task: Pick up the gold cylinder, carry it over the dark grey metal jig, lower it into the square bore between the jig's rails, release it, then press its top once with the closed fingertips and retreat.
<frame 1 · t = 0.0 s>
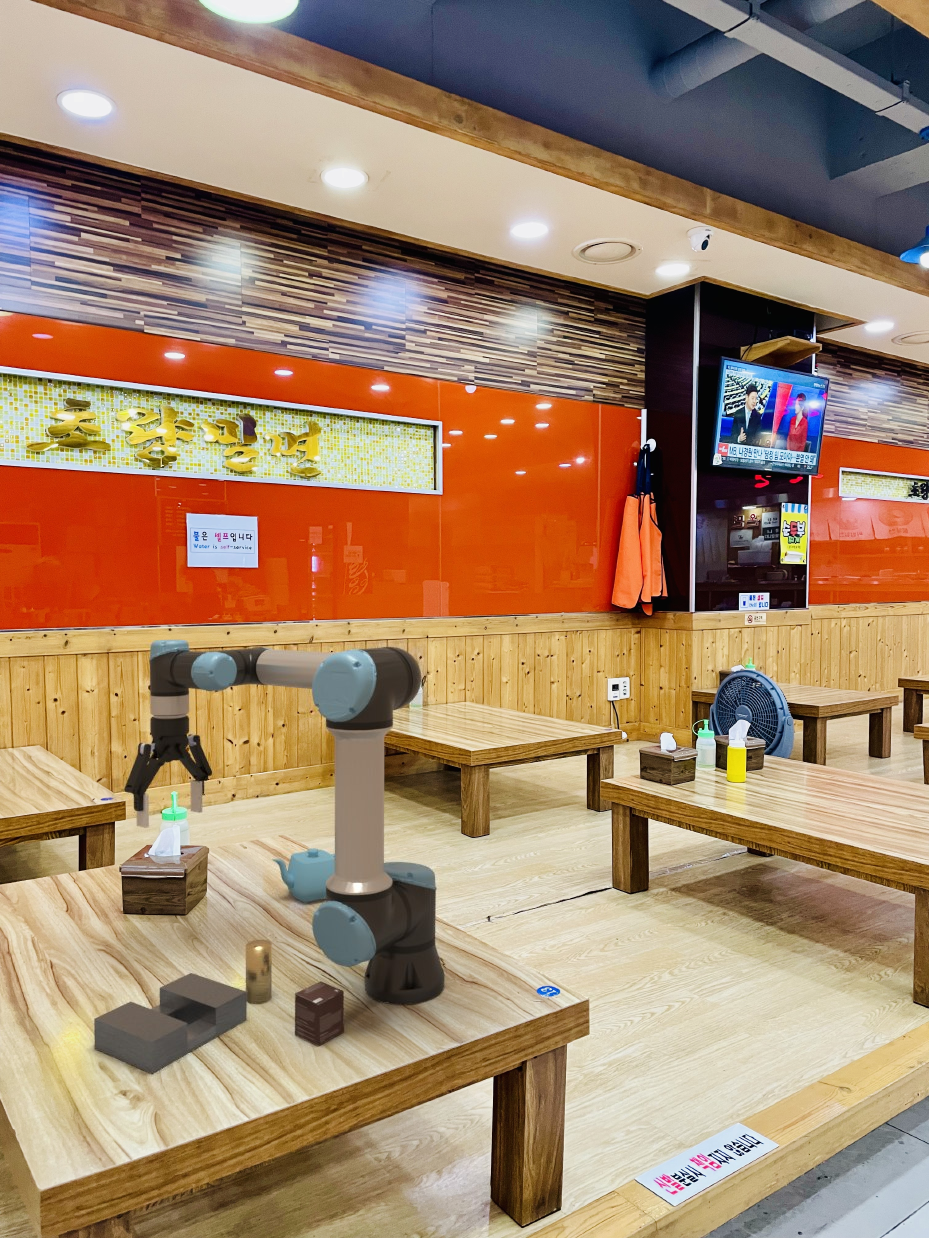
hand: (170, 818, 178), 28 cm above the table, fingers open, 13 cm apart
box: (319, 1035, 147), on the table
jig: (173, 1033, 147), on the table
teapot: (307, 897, 213), on the table
gold cylinder: (258, 998, 160), on the table
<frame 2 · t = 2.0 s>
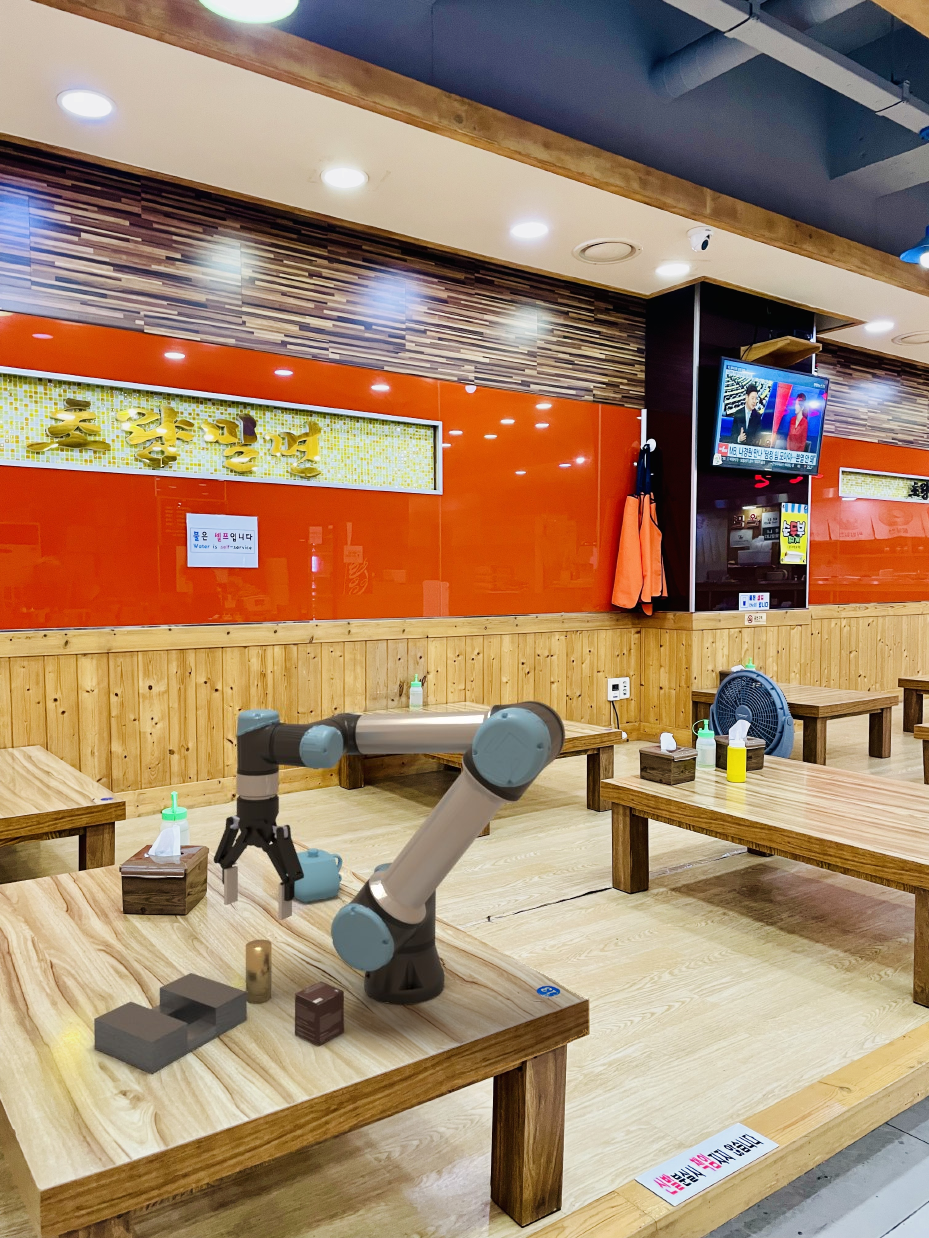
hand: (257, 909, 159), 16 cm above the table, fingers open, 13 cm apart
nothing on the table moved.
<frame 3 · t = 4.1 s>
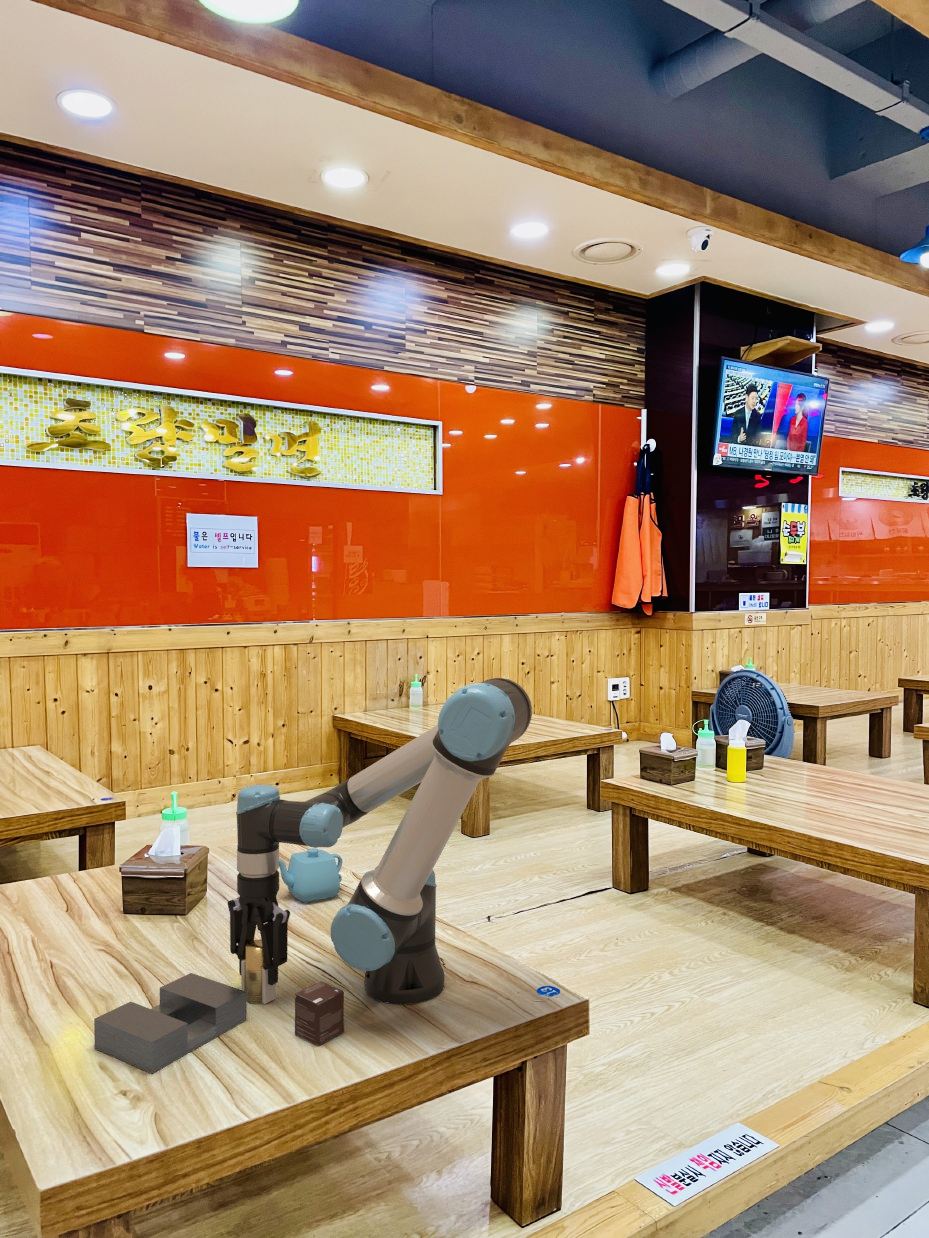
hand: (258, 996, 160), 0 cm above the table, fingers closed on gold cylinder, 5 cm apart
gold cylinder: (258, 997, 160), on the table, touching gripper
everything else where it was.
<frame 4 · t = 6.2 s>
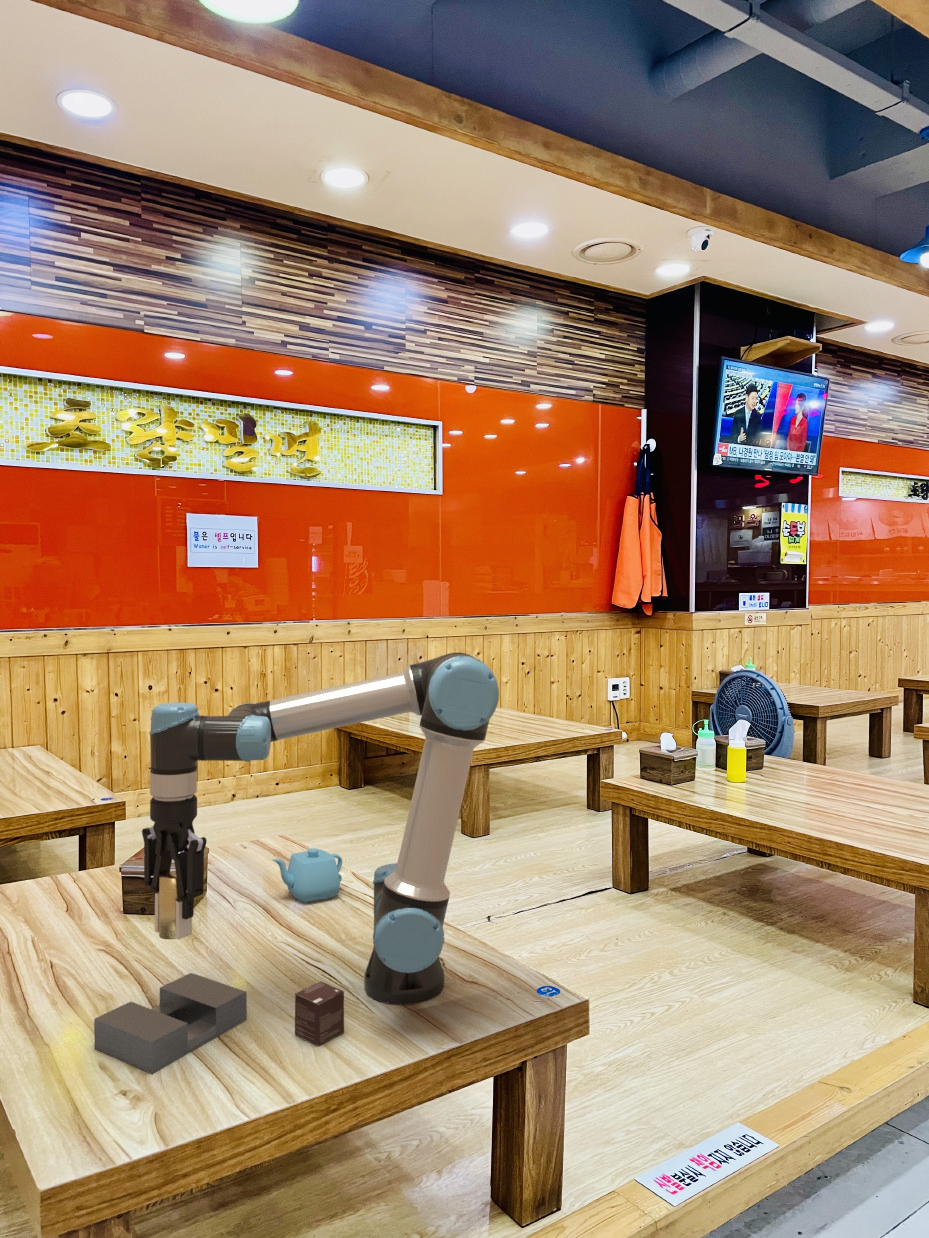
hand: (173, 932, 147), 17 cm above the table, fingers closed on gold cylinder, 5 cm apart
gold cylinder: (173, 933, 147), point 17 cm above the table, touching gripper
everything else where it was.
when the fingers open (3 cm above the table, at t = 8.6 s): gold cylinder drops 2 cm, resting on jig.
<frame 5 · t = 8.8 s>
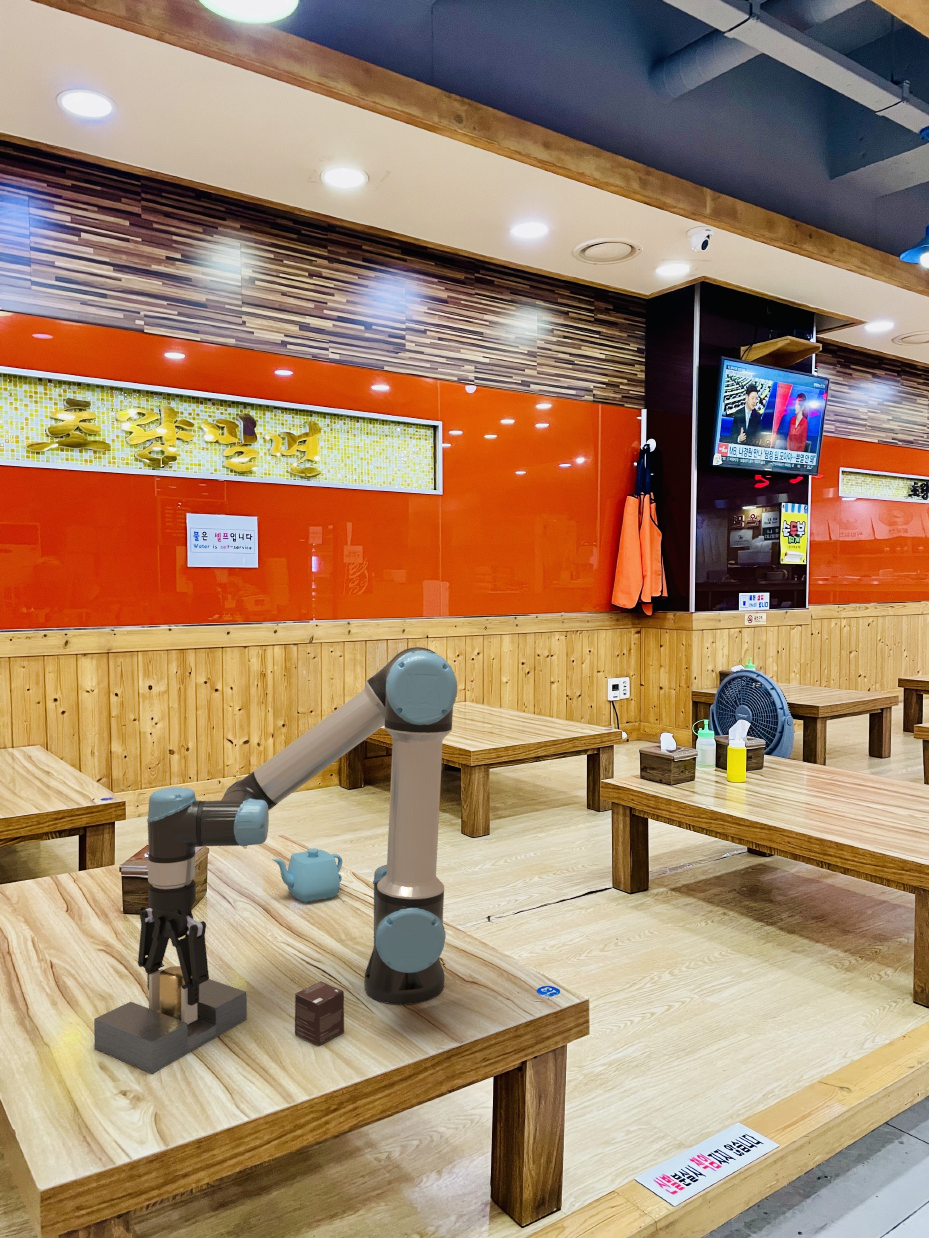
hand: (173, 1015, 147), 3 cm above the table, fingers open, 7 cm apart
gold cylinder: (173, 1030, 147), point 1 cm above the table, touching jig
everything else where it was.
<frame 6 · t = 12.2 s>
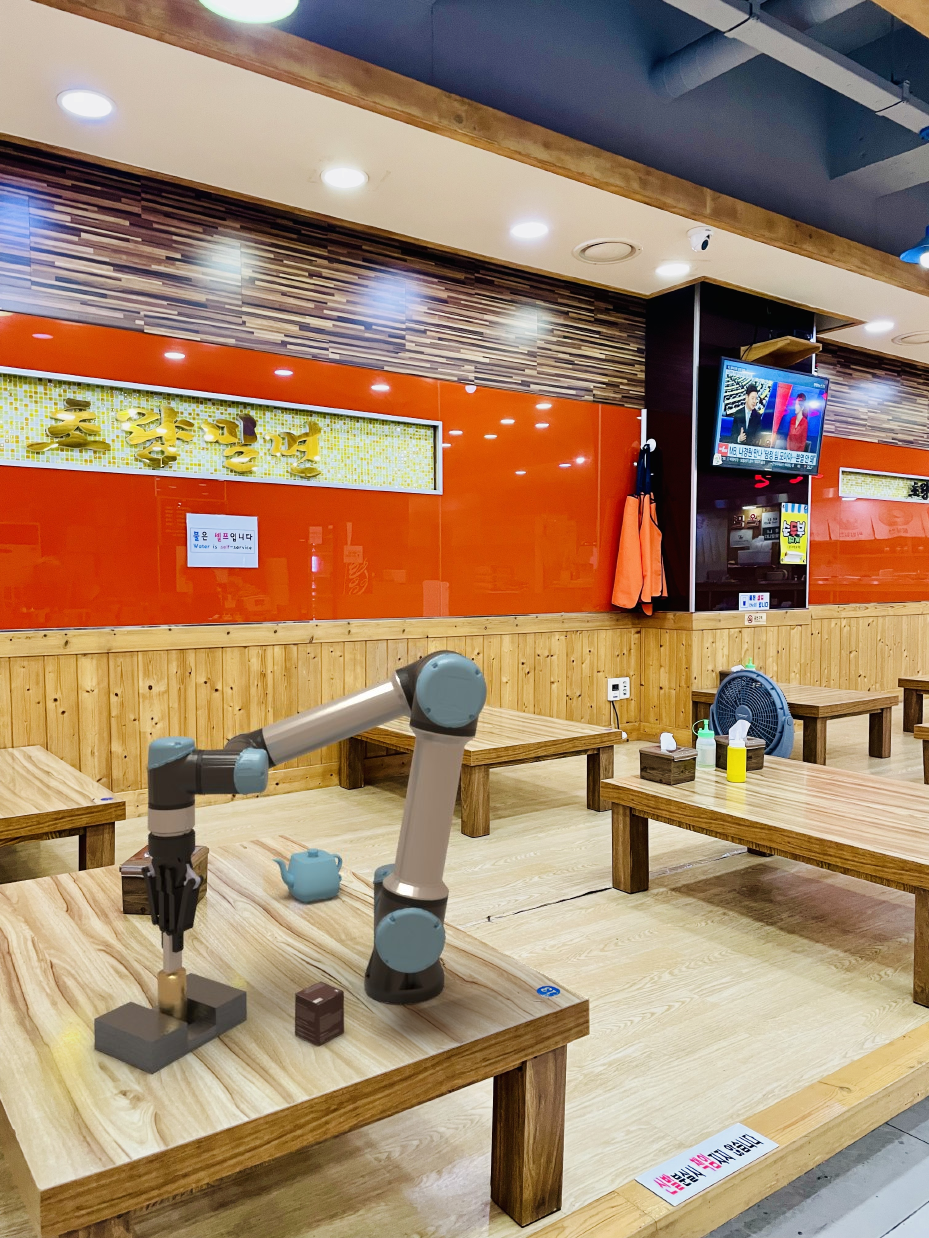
hand: (172, 968, 146), 11 cm above the table, fingers closed
nothing on the table moved.
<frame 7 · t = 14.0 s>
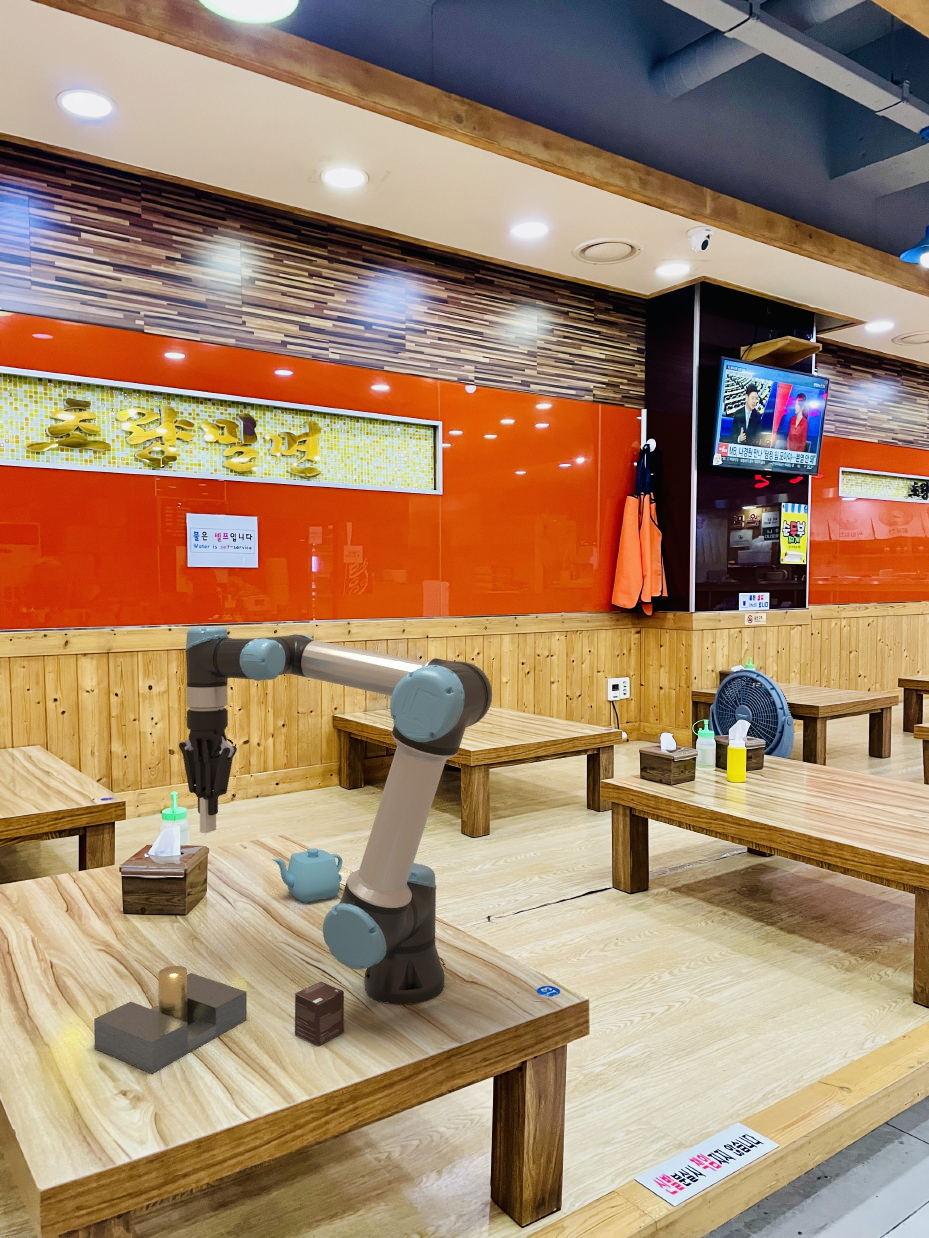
hand: (208, 830, 166), 29 cm above the table, fingers closed
nothing on the table moved.
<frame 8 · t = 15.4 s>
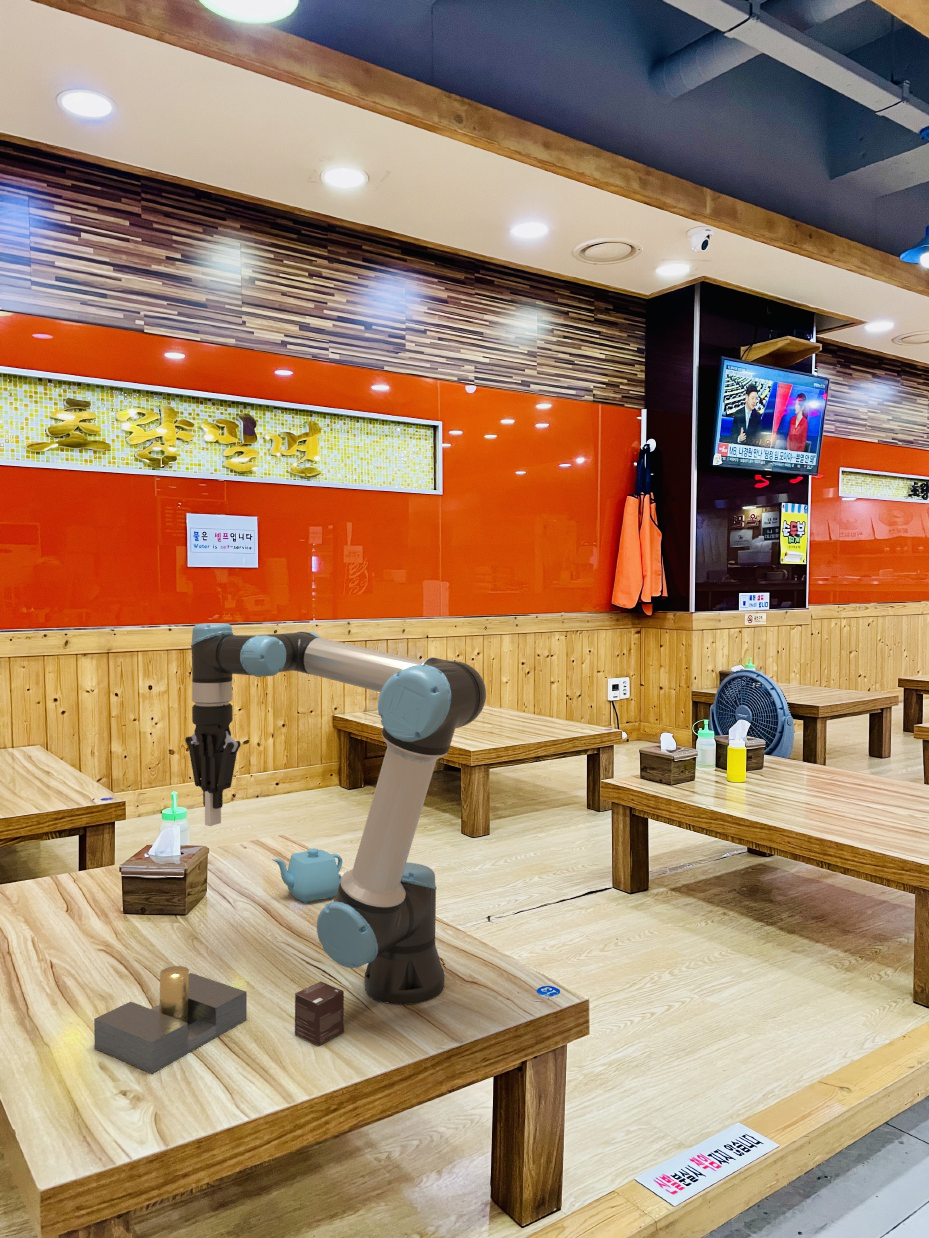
hand: (213, 823, 169), 29 cm above the table, fingers closed
nothing on the table moved.
at the end: gold cylinder 0.1 cm off-centre on the jig, point 0.6 cm above the jig's base; gold cylinder tilted 1°; the gripper is holding nothing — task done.
